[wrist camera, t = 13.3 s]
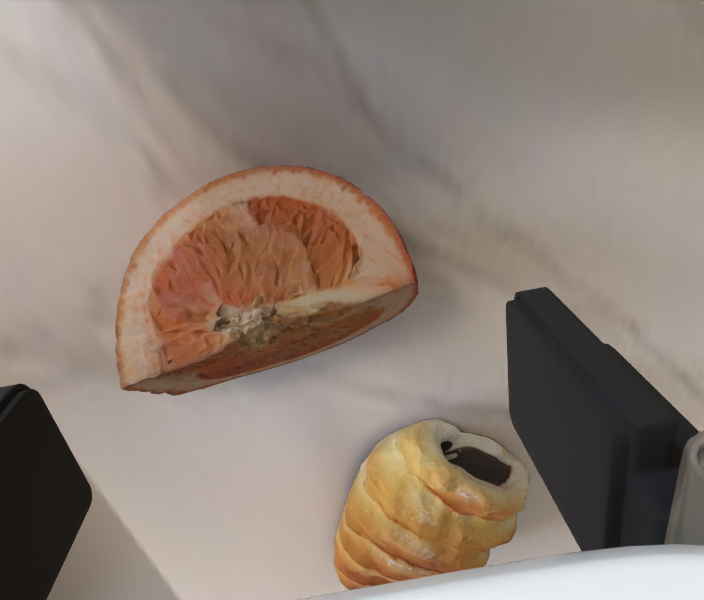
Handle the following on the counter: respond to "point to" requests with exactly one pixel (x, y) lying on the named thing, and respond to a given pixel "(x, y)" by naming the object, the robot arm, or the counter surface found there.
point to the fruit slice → (257, 279)
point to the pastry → (428, 506)
